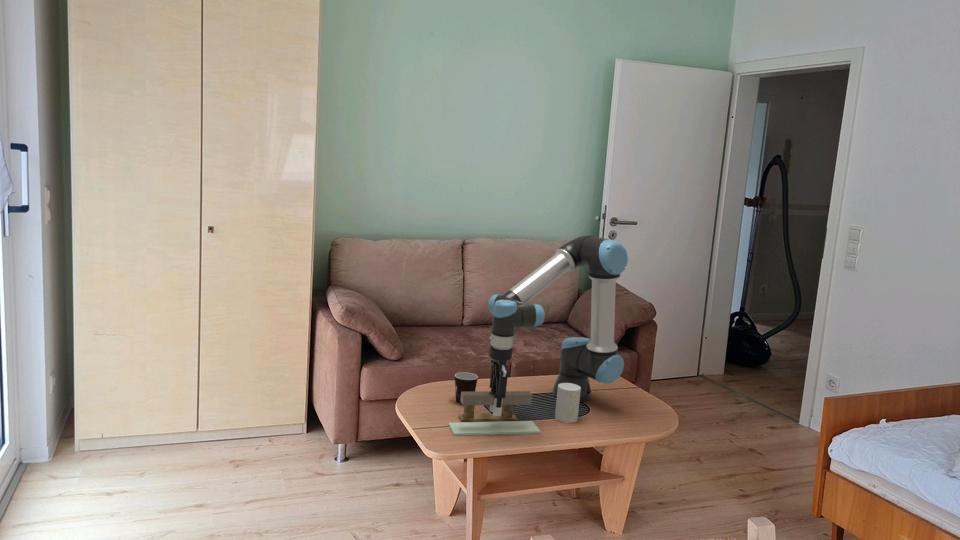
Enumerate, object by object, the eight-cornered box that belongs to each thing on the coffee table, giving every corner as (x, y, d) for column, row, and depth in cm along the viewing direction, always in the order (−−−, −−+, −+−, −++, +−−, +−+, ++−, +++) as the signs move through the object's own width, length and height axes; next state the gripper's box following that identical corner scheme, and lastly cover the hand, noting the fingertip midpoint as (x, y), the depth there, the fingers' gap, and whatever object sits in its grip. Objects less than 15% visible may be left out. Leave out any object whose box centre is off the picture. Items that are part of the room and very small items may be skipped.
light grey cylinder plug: (562, 424, 257) (566, 391, 255) (550, 415, 264) (553, 383, 262) (581, 421, 261) (585, 389, 259) (569, 413, 268) (572, 382, 266)
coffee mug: (473, 407, 266) (475, 381, 264) (450, 403, 267) (452, 378, 266) (479, 396, 277) (481, 371, 275) (457, 393, 279) (459, 368, 277)
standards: (512, 415, 261) (514, 391, 260) (517, 421, 256) (519, 397, 254) (458, 416, 256) (459, 391, 255) (461, 422, 251) (463, 397, 249)
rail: (528, 400, 250) (529, 391, 250) (531, 404, 247) (532, 394, 247) (460, 401, 244) (461, 391, 244) (462, 405, 241) (463, 395, 240)
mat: (532, 423, 256) (532, 420, 255) (540, 433, 247) (540, 431, 247) (448, 424, 248) (448, 422, 248) (453, 435, 240) (454, 433, 239)
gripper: (484, 339, 249) (478, 404, 253) (497, 354, 233) (490, 423, 238) (505, 339, 251) (499, 404, 255) (519, 354, 235) (512, 422, 239)
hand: (495, 413), depth 246 cm, fingers closed on rail, 3 cm apart
